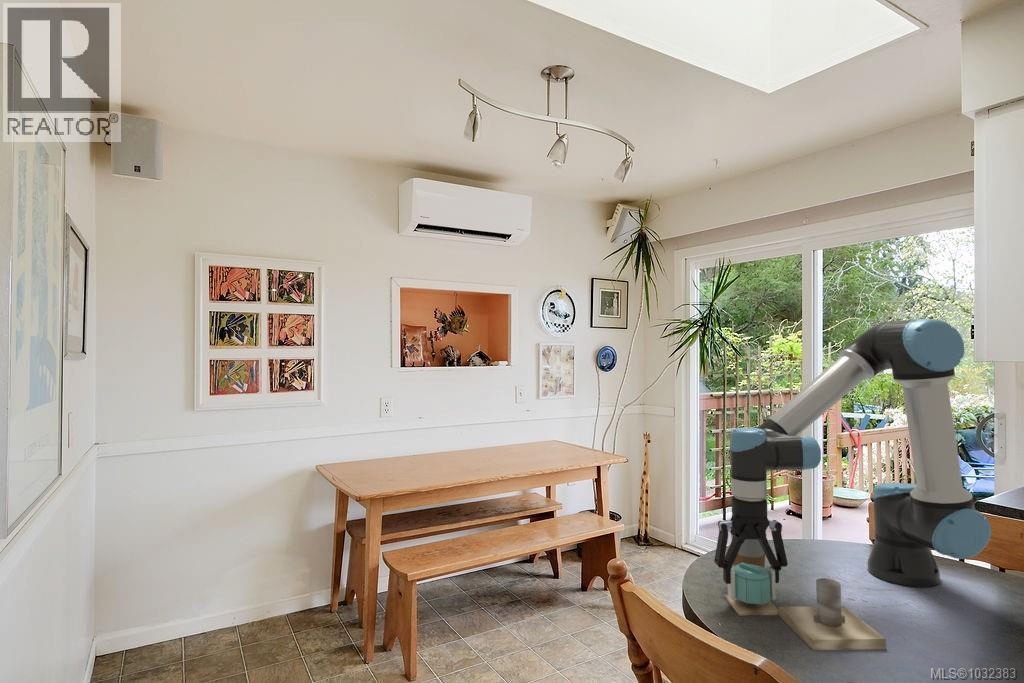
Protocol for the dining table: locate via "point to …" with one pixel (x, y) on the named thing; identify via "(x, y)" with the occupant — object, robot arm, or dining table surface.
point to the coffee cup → (750, 552)
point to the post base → (830, 634)
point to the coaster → (752, 607)
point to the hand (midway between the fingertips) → (751, 597)
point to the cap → (752, 583)
